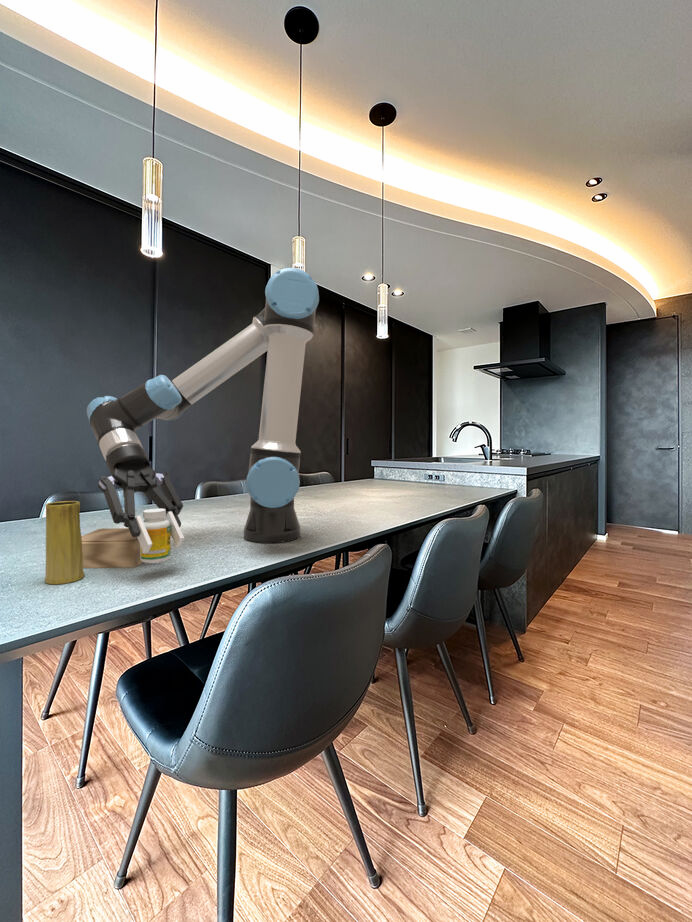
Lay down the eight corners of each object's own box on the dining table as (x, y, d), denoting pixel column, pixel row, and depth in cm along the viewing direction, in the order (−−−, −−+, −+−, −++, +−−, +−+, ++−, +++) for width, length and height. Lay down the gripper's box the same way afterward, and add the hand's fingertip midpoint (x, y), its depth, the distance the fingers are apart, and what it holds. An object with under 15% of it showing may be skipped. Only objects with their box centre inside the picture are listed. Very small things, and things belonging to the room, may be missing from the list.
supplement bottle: (139, 558, 81) (137, 509, 80) (168, 554, 84) (167, 506, 83) (142, 565, 76) (140, 513, 76) (173, 560, 79) (171, 510, 79)
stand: (160, 549, 99) (160, 527, 98) (135, 567, 85) (135, 541, 84) (99, 550, 98) (99, 527, 97) (63, 568, 84) (62, 542, 83)
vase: (55, 587, 73) (53, 506, 72) (37, 581, 76) (35, 503, 75) (91, 577, 78) (89, 502, 78) (73, 572, 81) (71, 499, 81)
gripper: (162, 465, 96) (202, 547, 86) (71, 470, 82) (106, 568, 72) (173, 442, 92) (215, 525, 83) (79, 443, 79) (116, 543, 69)
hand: (164, 545), depth 78 cm, fingers closed on supplement bottle, 5 cm apart
